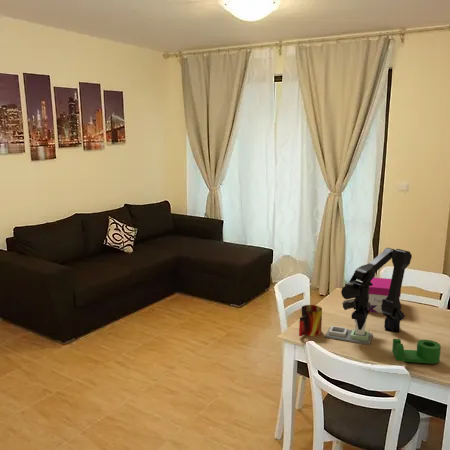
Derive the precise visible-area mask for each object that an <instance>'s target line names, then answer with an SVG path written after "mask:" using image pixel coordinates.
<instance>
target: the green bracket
mask: <svg viewBox="0 0 450 450" xmlns="http://www.w3.org/2000/svg"><path fill="white" fill-rule="evenodd" d="M441 346H442V345H441V344H440V343H439V342H437V341H434V340H432V339H431V340H430V339H419V340H418V341H417V344H416V350H415V349H405V346H404V345H403V343H402V341H401V338H392V355H394V358H395V361H396V362H397V361H398V362H404V363H405V362H406V363H419V364H438V363H439V362H440V361H441V360H440V359H441V351H442V350H441V348H442V347H441Z"/></svg>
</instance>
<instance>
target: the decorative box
mask: <svg viewBox="0 0 450 450" xmlns="http://www.w3.org/2000/svg"><path fill="white" fill-rule="evenodd" d="M391 279H392V278H385V277H384V278H383V277H374V278H373V279H372V280H371V281H370V282H371V283H372V284H373V285H372V286H369V301H368V302H369V303H370V304H371V308H370V309H369V308H368V311H369V313H377V314H383V312H382V309H381V308H382V307H381V305H382V300H383V299H386V298H387V297H388V294H389V289H390V284H391ZM401 291H402V290H401ZM401 291H400V295H399V300H401V295H402V293H401Z"/></svg>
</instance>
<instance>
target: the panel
mask: <svg viewBox="0 0 450 450" xmlns="http://www.w3.org/2000/svg"><path fill="white" fill-rule="evenodd" d="M373 335H374V334H373V333H371V332H370V331H368V330H365V334H364V335H360V334H355V328H354V329H348V327H344V326H343V327H342V326H336V325H331V326H329V328H328V329H327V332H326V333H325V335H324V338H326V339H331V340H336V341H337V340H338V341H341V342H342V341H343V342H349V343H354V344H355V343H356V344H361V345H366V346H370V344H371V341H372V338H373Z"/></svg>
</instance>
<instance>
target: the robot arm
mask: <svg viewBox="0 0 450 450" xmlns="http://www.w3.org/2000/svg"><path fill="white" fill-rule="evenodd" d="M412 255H413V254H412V253H411V252H410V251H409V250H406V249H405V250H404V249H400V248H395V249H394V248H391V247H385V248H384V249H383V251H382V252H380V254H378V255H377V256H376V257H374V258H373V259H372V260H371V261H370V262H368V263H367V264H363V265H360V266H359V267H358V268H356V269H354V272H353V274H352V276H351V278H350V280H349V281H348V283H344V286H343V287H342V288H341V291H340V294H341V297H342V298H343V299H344V300H343V301H342V303H341V304H342V308H343V310H344V311H347V310H349V309H353V311H352V313H351V316H350V317H351V319H352V320H355V319H356V320H357V324H358V329H359V330H361V329H362V327H363V325H364V323H365V321H366V322H367V319H368V316H369V314H370V312H369V311H368V308H369V309H370V308H371V304H370V303H369V302H368V301H369V286H372V285H373V284H372V283H371V282H370V281H371V280H372V279H373V278H376V273H377V272H378V271H379V270H380V269H381V268H383V267H384V266H385V265H386V264H387V263H388V262H389V261H391V263H392V265H393V270H392V274H391V278H390V279H391V284H390V289H389V294H388V297H387V298H386V299H383V300H382V305H381V307H382V308H381V309H382V312H383V313H382V315H383V316H385V318H384V328H383V329H384V330H385V331H386V332H392V333H393V332H394V333H400V330H401V326H400V325H401V322H402V321H403V320H404V318H405V316H406V314H404V312H403V311H402V310H401V309H402V304H401V301H400V300H401V299H400V300H399V295H400V291H402V290H401V289H402V285H403V280H404V277H405V271H406V268H408V267H409V266H410V264H411V260H412V258H413V257H412ZM400 296H401V295H400Z"/></svg>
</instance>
